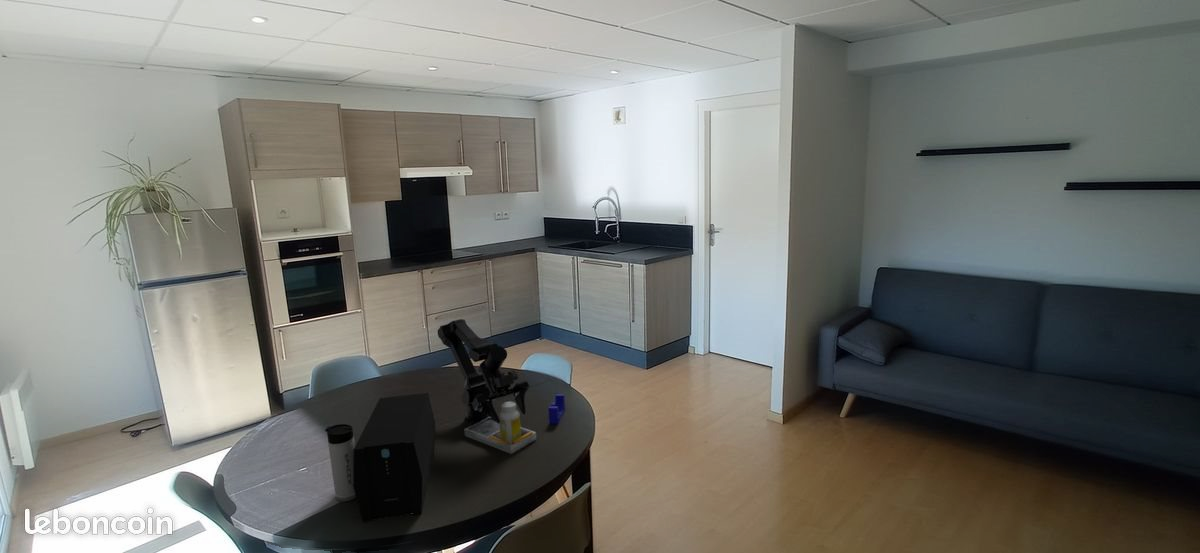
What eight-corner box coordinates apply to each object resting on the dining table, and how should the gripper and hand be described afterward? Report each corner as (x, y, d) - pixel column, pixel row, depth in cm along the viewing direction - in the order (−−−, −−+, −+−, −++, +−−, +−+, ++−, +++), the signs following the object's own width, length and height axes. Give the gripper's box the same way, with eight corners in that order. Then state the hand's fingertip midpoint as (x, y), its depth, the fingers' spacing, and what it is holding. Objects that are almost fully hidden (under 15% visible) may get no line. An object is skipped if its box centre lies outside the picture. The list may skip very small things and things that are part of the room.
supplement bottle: (523, 436, 178) (521, 399, 175) (519, 446, 171) (517, 408, 169) (503, 436, 178) (500, 400, 176) (498, 446, 172) (495, 408, 169)
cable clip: (553, 409, 198) (552, 393, 197) (565, 409, 198) (564, 394, 197) (545, 424, 187) (544, 407, 186) (558, 424, 186) (557, 408, 185)
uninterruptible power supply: (358, 523, 136) (348, 450, 132) (384, 456, 168) (376, 396, 164) (426, 513, 139) (418, 441, 135) (438, 450, 171) (432, 390, 167)
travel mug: (339, 489, 151) (330, 422, 147) (364, 487, 151) (355, 421, 148) (330, 502, 145) (321, 433, 141) (356, 500, 145) (347, 431, 141)
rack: (464, 436, 180) (464, 426, 179) (490, 423, 188) (489, 414, 188) (511, 454, 167) (510, 444, 166) (536, 439, 176) (535, 429, 175)
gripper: (473, 371, 167) (492, 416, 161) (525, 357, 179) (545, 398, 172) (464, 388, 175) (482, 431, 168) (514, 373, 186) (533, 413, 180)
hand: (512, 418), depth 172 cm, fingers open, 9 cm apart
